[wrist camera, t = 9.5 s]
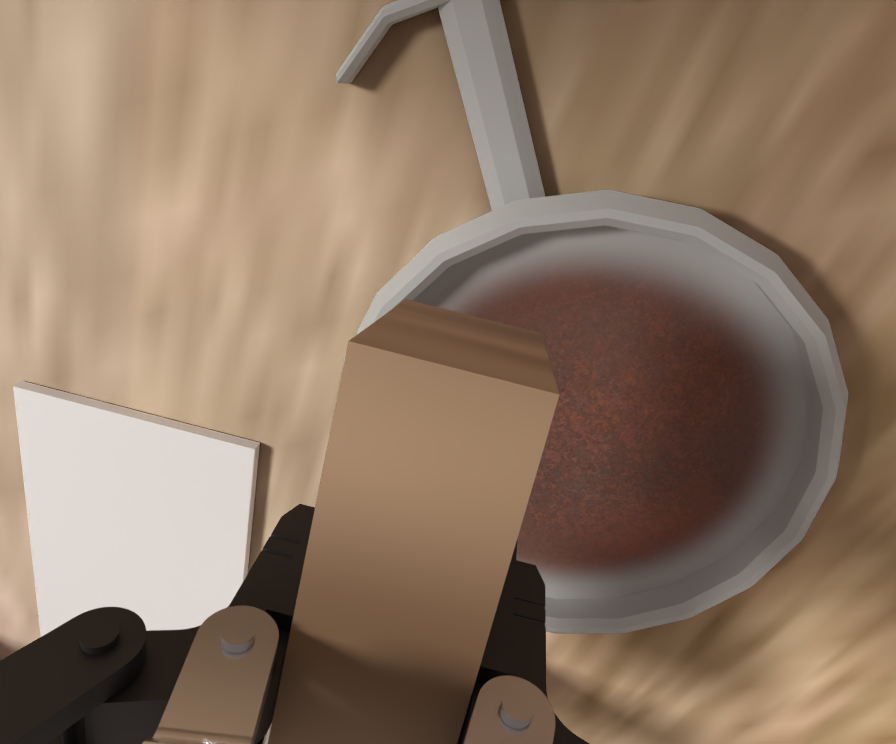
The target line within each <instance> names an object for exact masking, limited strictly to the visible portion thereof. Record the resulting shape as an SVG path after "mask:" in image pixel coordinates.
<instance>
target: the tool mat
mask: <svg viewBox="0 0 896 744" xmlns="http://www.w3.org/2000/svg"><path fill="white" fill-rule="evenodd" d="M13 389H14V398H15V407H16V416H17V425H18V434H19V443H20V452H21V461H22V470H23V479H24V489H25V498H26V507H27V516H28V525H29V534H30V543H31V552H32V561H33V570H34V579H35V589H36V598H37V607H38V616H39V625H40V634H41V637H42V636H44V635H45V634H47V633H49V632H50V631H52V630H54V629H55V628H57V627H59V626H61V625H62V624H64V623H66V622H67V621H69V620H71V619H72V618H74V617H76V616H78V615H80V614H82V613H84V612H87V611H89V610H93V609H96V608H102V607H121V608H125V609H129V610H131V611H133V612H135V613H136V614H137V615H139V616H140V617H141V619H142V620H143V622H144V624H145V627H146V631H150V630H181V629H189V628H194V627H197V626H200V625H202V623H203V622H204V621H205V620H206V619H207V618H208V617H209V616H211V615H212V614H214V613H215V612H217V611H219V610H222V609H225V608H227V607H228V606H229V604H230V603H231V601H232V600H233V598H234V596H235V595H236V593H237V591H238V590H239V588H240V586H241V585H242V583H243V581H244V580H245V578H246V576H247V574H248V565H249V554H250V543H251V533H252V522H253V512H254V501H255V490H256V480H257V469H258V459H259V448H260V443H259V442H256V441H252V440H248V439H244V438H240V437H236V436H232V435H229V434H225V433H221V432H217V431H213V430H209V429H206V428H202V427H198V426H194V425H190V424H186V423H182V422H179V421H175V420H171V419H167V418H163V417H159V416H156V415H152V414H148V413H144V412H140V411H136V410H133V409H129V408H125V407H121V406H117V405H113V404H109V403H106V402H102V401H98V400H94V399H90V398H86V397H83V396H79V395H75V394H71V393H67V392H63V391H60V390H56V389H52V388H48V387H44V386H40V385H36V384H33V383H29V382H25V381H22V382H20V383H18V384H16V385H15V386H13Z"/></svg>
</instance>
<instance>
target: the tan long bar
mask: <svg viewBox="0 0 896 744" xmlns="http://www.w3.org/2000/svg"><path fill="white" fill-rule="evenodd" d="M559 395H560V394H559V391H558V388H557V384H556V381H555V378H554V374H553V371H552V368H551V364H550V361H549V358H548V354H547V351H546V348H545V344H544V341H543V337H542V334H541V333H539V332H535V331H531V330H527V329H523V328H519V327H515V326H511V325H507V324H503V323H499V322H495V321H491V320H487V319H483V318H479V317H475V316H471V315H467V314H463V313H459V312H455V311H451V310H447V309H443V308H439V307H435V306H431V305H427V304H423V303H419V302H415V301H411V300H407V299H405V300H404V301H403V302H401V303H400V304H398V305H397V306H396V307H394V308H393V309H392V310H390V311H389V312H387V313H386V314H385V315H383V316H382V317H381V318H379V319H378V320H377V321H375V322H374V323H372V324H371V325H370V326H368V327H367V328H366V329H364V330H363V331H362V332H360V333H359V334H357V335H356V336H355V337H353V338H352V339H351V340H349V341H348V346H347V351H346V356H345V361H344V366H343V371H342V376H341V381H340V386H339V391H338V396H337V401H336V406H335V411H334V416H333V421H332V426H331V431H330V436H329V441H328V446H327V451H326V456H325V461H324V466H323V471H322V476H321V481H320V486H319V491H318V496H317V501H316V506H315V511H314V515H313V520H312V525H311V530H310V535H309V540H308V545H307V550H306V555H305V560H304V565H303V570H302V575H301V580H300V585H299V590H298V595H297V600H296V605H295V610H294V615H293V620H292V625H291V630H290V635H289V640H288V645H287V650H286V655H285V660H284V665H283V670H282V675H281V680H280V685H279V690H278V695H277V700H276V705H275V710H274V715H273V720H272V723H271V726H270V728H269V730H268V732H267V735H266V741H265V744H457V743H458V739H459V736H460V732H461V729H462V726H463V722H464V719H465V715H466V712H467V709H468V705H469V702H470V698H471V695H472V691H473V688H474V685H475V681H476V678H477V674H478V671H479V668H480V664H481V661H482V657H483V654H484V651H485V647H486V644H487V640H488V637H489V633H490V630H491V627H492V623H493V620H494V616H495V613H496V610H497V606H498V603H499V599H500V596H501V593H502V589H503V586H504V582H505V579H506V575H507V572H508V569H509V565H510V562H511V558H512V555H513V552H514V548H515V545H516V541H517V538H518V535H519V531H520V528H521V524H522V521H523V518H524V514H525V511H526V507H527V504H528V500H529V497H530V494H531V490H532V487H533V483H534V480H535V477H536V473H537V470H538V466H539V463H540V460H541V456H542V453H543V449H544V446H545V442H546V439H547V436H548V432H549V429H550V425H551V422H552V419H553V415H554V412H555V408H556V405H557V402H558V398H559Z"/></svg>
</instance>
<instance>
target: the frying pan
mask: <svg viewBox="0 0 896 744" xmlns="http://www.w3.org/2000/svg"><path fill="white" fill-rule="evenodd" d="M436 8H438V10H439V14H440V18H441V21H442V25H443V29H444V33H445V36H446V40H447V44H448V48H449V51H450V55H451V59H452V63H453V66H454V70H455V74H456V78H457V81H458V85H459V89H460V93H461V96H462V100H463V104H464V108H465V111H466V115H467V119H468V123H469V126H470V130H471V134H472V138H473V141H474V145H475V149H476V153H477V156H478V160H479V164H480V168H481V171H482V175H483V179H484V183H485V186H486V190H487V194H488V198H489V201H490V205H491V209H492V211H491V212H488V213H486V214H484V215H482V216H480V217H477V218H475V219H473V220H471V221H469V222H467V223H464V224H462V225H460V226H458V227H456V228H454V229H451V230H449V231H447V232H445V233H443V234H441V235H438V236H436V237H434V238H433V239H432V240H431V241H430V242H429V243H428V244H427V245H426V246H425V247H424V248H423V249H422V250H421V251H420V252H419V253H418V254H417V255H416V256H415V257H414V258H413V259H412V260H411V261H410V262H408V263H407V264H406V265H405V266H404V267H403V268H402V269H401V270H400V271H399V272H398V273H397V274H396V275H395V276H394V277H393V278H392V279H391V280H390V281H389V282H388V283H387V284H386V285H385V286H383V287H382V288H381V289H380V290H379V291H378V292H377V294H376V296H375V298H374V300H373V302H372V304H371V306H370V308H369V310H368V312H367V314H366V316H365V317H364V319H363V321H362V323H361V325H360V327H359V329H358V331H357V333H356V335H357V334H359V333H360V332H362V331H363V330H364V329H366V328H367V327H368V326H370V325H371V324H372V323H374V322H375V321H377V320H378V319H379V318H381V317H382V316H383V315H385V314H386V313H387V312H389V311H390V310H392V309H393V308H394V307H396V306H397V305H398V304H400V303H401V302H403V301H404V300H405V299H407V300H411V301H415V302H419V303H423V304H427V305H431V306H435V307H439V308H443V309H447V310H451V311H455V312H459V313H463V314H467V315H471V316H475V317H479V318H483V319H487V320H491V321H495V322H499V323H503V324H507V325H511V326H515V327H519V328H523V329H527V330H531V331H535V332H539V333H541V334H542V337H543V341H544V344H545V348H546V351H547V354H548V358H549V361H550V364H551V368H552V371H553V374H554V378H555V381H556V384H557V388H558V391H559V394H560V395H559V398H558V402H557V405H556V408H555V412H554V415H553V419H552V422H551V425H550V429H549V432H548V436H547V439H546V442H545V446H544V449H543V453H542V456H541V460H540V463H539V466H538V470H537V473H536V477H535V480H534V483H533V487H532V490H531V494H530V497H529V500H528V504H527V507H526V511H525V514H524V518H523V521H522V524H521V528H520V531H519V535H518V538H517V556H516V560H517V561H521V562H525V563H529V564H533V565H536V567H537V569H538V571H539V573H540V575H541V577H542V579H543V581H544V583H545V604H546V605H545V609H546V622H545V626H546V631H547V632H551V633H569V634H624V633H628V632H633V631H637V630H642V629H646V628H650V627H655V626H659V625H663V624H668V623H672V622H677V621H681V620H685V619H690V618H692V617H694V616H696V615H697V614H699V613H701V612H703V611H705V610H707V609H709V608H711V607H713V606H715V605H717V604H719V603H721V602H723V601H725V600H727V599H729V598H731V597H733V596H735V595H737V594H739V593H741V592H743V591H745V590H747V589H749V588H751V587H752V586H753V585H754V584H755V583H756V582H757V581H758V580H760V579H761V578H762V577H763V576H764V575H765V574H766V573H767V572H768V571H769V570H770V569H771V568H772V567H774V566H775V565H776V564H777V563H778V562H779V561H780V560H781V559H782V558H783V557H784V556H785V555H787V554H788V553H789V552H790V551H791V550H792V549H793V548H794V547H795V546H796V545H797V544H798V543H799V542H801V541H802V540H803V538H804V536H805V534H806V532H807V530H808V529H809V527H810V525H811V523H812V521H813V520H814V518H815V516H816V514H817V512H818V510H819V509H820V507H821V505H822V503H823V501H824V500H825V498H826V496H827V494H828V492H829V490H830V489H831V487H832V485H833V483H834V481H835V479H836V476H837V472H838V469H839V463H840V455H841V448H842V441H843V433H844V426H845V419H846V411H847V404H848V396H849V393H848V390H847V386H846V382H845V379H844V375H843V371H842V367H841V364H840V360H839V356H838V353H837V349H836V345H835V341H834V338H833V334H832V330H831V327H830V323H829V320H828V319H827V317H826V316H825V315H824V313H823V312H822V311H821V310H820V308H819V307H818V306H817V304H816V303H815V302H814V301H813V299H812V298H811V297H810V295H809V294H808V293H807V292H806V290H805V289H804V288H803V286H802V285H801V284H800V283H799V281H798V280H797V279H796V277H795V276H794V275H793V274H792V272H791V271H790V270H789V268H788V267H787V266H786V265H785V263H784V262H783V261H782V259H781V258H780V257H779V256H778V254H776V253H774V252H773V251H771V250H769V249H768V248H766V247H764V246H763V245H761V244H759V243H758V242H756V241H754V240H753V239H751V238H749V237H748V236H746V235H744V234H743V233H741V232H739V231H738V230H736V229H734V228H732V227H731V226H729V225H727V224H726V223H724V222H722V221H721V220H719V219H717V218H716V217H714V216H712V215H711V214H709V213H707V212H706V211H704V210H702V209H701V208H697V207H692V206H687V205H682V204H677V203H672V202H667V201H662V200H658V199H653V198H648V197H643V196H638V195H633V194H628V193H623V192H618V191H614V190H609V189H607V190H599V191H590V192H581V193H573V194H564V195H556V196H547V197H545V193H544V189H543V184H542V180H541V176H540V172H539V167H538V163H537V159H536V154H535V150H534V146H533V142H532V137H531V133H530V129H529V124H528V120H527V116H526V112H525V107H524V103H523V99H522V94H521V90H520V86H519V82H518V77H517V73H516V69H515V64H514V60H513V56H512V51H511V47H510V43H509V39H508V34H507V30H506V26H505V21H504V17H503V13H502V9H501V4H500V0H397V1H394V2H392V3H389V4H386V5H385V6H383V7H382V8H381V9H380V11H379V12H378V13H377V15H376V16H375V18H374V19H373V21H372V22H371V24H370V25H369V27H368V28H367V29H366V31H365V32H364V34H363V35H362V37H361V38H360V40H359V41H358V43H357V44H356V45H355V47H354V48H353V50H352V51H351V53H350V54H349V56H348V57H347V59H346V60H345V61H344V63H343V64H342V66H341V67H340V69H339V70H338V72H337V75H336V81H337V83H351V82H352V81H353V80H354V78H355V77H356V75H357V74H358V72H359V71H360V70H361V68H362V67H363V65H364V64H365V63H366V61H367V60H368V58H369V57H370V55H371V54H372V53H373V51H374V50H375V48H376V47H377V46H378V44H379V43H380V41H381V40H382V38H383V37H384V36H385V34H386V33H387V31H388V30H389V29H390V27H391V26H392V24H395V23H398V22H401V21H403V20H406V19H409V18H412V17H414V16H417V15H420V14H422V13H425V12H428V11H431V10H433V9H436ZM356 335H355V336H356ZM345 356H346V355H345ZM344 361H345V357H344ZM343 366H344V365H343Z"/></svg>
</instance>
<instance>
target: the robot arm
mask: <svg viewBox="0 0 896 744" xmlns="http://www.w3.org/2000/svg"><path fill="white" fill-rule="evenodd" d="M314 511H315V508H314V507H310V506H306V505H302V504H299V505H298V506H296V507H295V508H293V509H292V510H290V511H289V512H288V513H286V514H285V515H283V516H282V517H281V519H280V520H279V522H278V524H277V526H276V527H275V529H274V531H273V532H272V535H271V537H269V539H268V541H267V542H266V544H265V546H264V547H263V551H261V553H260V554H259V556H258V558H257V559H256V561H255V563H254V564H253V566H252V568H251V569H250V571H249V573H248V574H247V576H246V578H245V580H244V581H243V583H242V585H241V586H240V588H239V590H238V591H237V593H236V595H235V596H234V598H233V600H232V601H231V603H230V604H229V606H228V607H227V608H225V609H222V610H219V611H217V612H215V613H214V614H212V615H211V616H209V617H208V618H207V619H206V620H205V621H204V622H203V623H202V625H200V626H197V627H194V628H189V629H181V630H150V631H146V627H145V624H144V622H143V620H142V619H141V617H140V616H139V615H137V614H136V613H135V612H133V611H131V610H129V609H125V608H121V607H102V608H96V609H93V610H89V611H87V612H84V613H82V614H80V615H78V616H76V617H74V618H72V619H71V620H69V621H67V622H66V623H64V624H62V625H61V626H59V627H57V628H55V629H54V630H52V631H50V632H49V633H47V634H45V635H44V636H42V637H40V638H38V639H37V640H35V641H33V642H32V643H30V644H28V645H27V646H25V647H23V648H21V649H20V650H18V651H16V652H15V653H13V654H11V655H10V656H8V657H6V658H4V659H3V660H1V661H0V744H265V741H266V735H267V732H268V730H269V728H270V726H271V723H272V720H273V715H274V710H275V705H276V700H277V695H278V690H279V685H280V680H281V675H282V670H283V665H284V660H285V655H286V650H287V645H288V640H289V635H290V630H291V625H292V620H293V615H294V610H295V605H296V600H297V595H298V590H299V585H300V580H301V575H302V570H303V565H304V560H305V555H306V550H307V545H308V540H309V535H310V530H311V525H312V520H313V515H314ZM516 556H517V541H516V545H515V548H514V552H513V555H512V558H511V562H510V565H509V569H508V572H507V575H506V579H505V582H504V586H503V589H502V593H501V596H500V599H499V603H498V606H497V610H496V613H495V616H494V620H493V623H492V627H491V630H490V633H489V637H488V640H487V644H486V647H485V651H484V654H483V657H482V661H481V664H480V668H479V671H478V674H477V678H476V681H475V685H474V688H473V691H472V695H471V698H470V702H469V705H468V709H467V712H466V715H465V719H464V722H463V726H462V729H461V732H460V736H459V739H458V743H457V744H589V743H587V742H586V741H584V740H583V739H581V738H579V737H578V736H576V735H575V734H573V733H572V732H571V731H570V730H569V729H567V728H566V727H565V726H564V725H563V724H562V722H561V721H560V720H559V719H558V717H557V716H556V715H555V713H554V711H553V708H552V706H551V704H550V702H549V700H548V697H547V692H546V626H545V622H546V609H545V605H546V604H545V583H544V581H543V579H542V577H541V575H540V573H539V571H538V569H537V567H536V565H533V564H529V563H525V562H521V561H517V560H516Z"/></svg>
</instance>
